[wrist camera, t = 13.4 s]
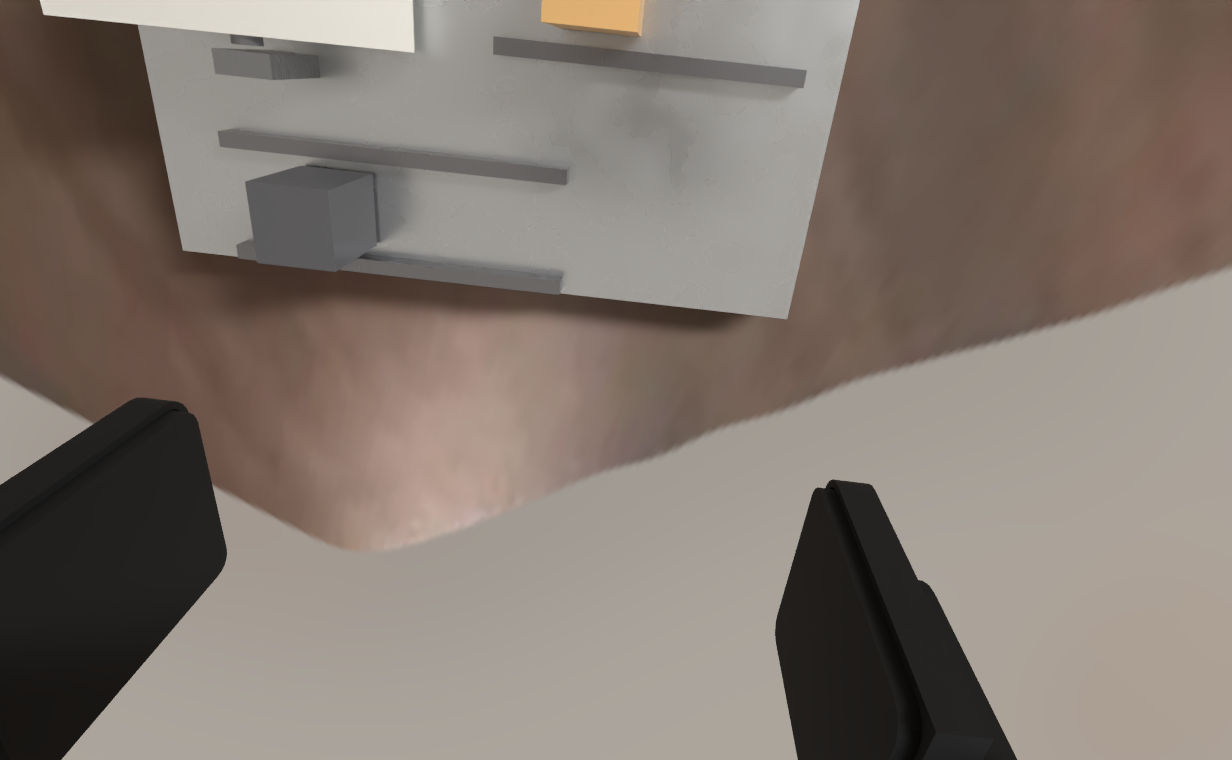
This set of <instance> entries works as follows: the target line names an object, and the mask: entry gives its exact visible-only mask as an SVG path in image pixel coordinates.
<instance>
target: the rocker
mask: <svg viewBox="0 0 1232 760" xmlns="http://www.w3.org/2000/svg"><path fill="white" fill-rule="evenodd" d="M40 3H41V7H42V10H43V14H44V15H51V16H61V17H70V18H80V19H90V20H100V21H110V22H119V23H129V24H139V25H149V26H158V27H168V28H178V29H188V30H198V31H207V32H217V33H227V34H230V40H231V43H232V44H239V45H250V46H264V42H263V37H266V38H276V39H286V40H295V41H305V42H315V43H325V44H335V45H344V46H354V47H364V48H374V49H384V50H393V51H403V52H413V53H414V52H415V41H414V13H413V0H40Z"/></svg>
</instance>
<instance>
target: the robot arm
mask: <svg viewBox="0 0 1232 760" xmlns="http://www.w3.org/2000/svg"><path fill="white" fill-rule="evenodd" d="M226 556H227V549H226V544H225V540H224V535H223V531H222V526H221V522H220V518H219V514H218V509H217V504H216V500H215V496H214V491H213V487H212V482H211V478H210V474H209V469H208V465H207V460H206V456H205V452H204V447H203V443H202V438H201V434H200V430H199V425H198V422H197V419H196V417H195V416H194V415H193V414H191V413H188V410H187V408H186V407H185V406H184V405H183V404H181V403H179V402H175V401H167V400H158V399H150V398H135V399H133V400H130V401H129V402H127V403H125V404H124V405H122V406H121V407H119V408H118V409H116V410H115V411H113V412H112V413H110V414H109V415H107V416H105V417H104V418H102V419H101V420H99V421H98V422H96V423H95V424H93V425H92V426H90V427H89V428H87V429H86V430H84V431H82V432H81V433H80V434H78V435H76V436H75V437H73V438H72V439H70V440H69V441H67V442H66V443H64V444H62V445H61V446H60V447H58V448H56V449H55V450H53V451H52V452H50V453H49V454H47V455H46V456H44V457H43V458H41V459H39V460H38V461H36V462H35V463H33V464H32V465H30V466H29V467H27V468H26V469H24V470H23V471H21V472H19V473H18V474H16V475H15V476H13V477H12V478H10V479H9V480H7V481H6V482H4V483H3V484H1V485H0V760H61V759H62V758H63V757H64V756H65V755H66V753H67V752H68V751H69V750H70V749H71V747H72V746H73V745H74V744H75V743H76V742H77V740H78V739H79V738H80V737H81V736H82V735H83V733H84V732H85V731H86V730H87V729H88V728H89V726H90V725H91V724H92V723H93V722H94V721H95V719H96V718H97V717H98V716H99V715H100V713H101V712H102V711H103V710H104V709H105V708H106V707H107V705H108V704H109V703H110V702H111V701H112V699H113V698H114V697H115V696H116V695H117V694H118V692H119V691H120V690H121V689H122V687H123V686H124V685H125V684H126V683H127V682H128V681H129V680H130V678H131V677H132V676H133V675H134V674H135V673H136V671H137V670H138V669H139V668H140V666H141V665H142V664H143V663H144V662H145V661H146V660H147V658H148V657H149V656H150V655H151V654H152V653H153V651H154V650H155V649H156V648H157V647H158V646H159V644H160V643H161V642H162V641H163V640H164V639H165V637H166V636H167V635H168V634H169V633H170V632H171V630H172V629H173V628H174V627H175V626H176V624H177V623H178V622H179V621H180V620H181V619H182V617H183V616H184V615H185V614H186V612H187V611H188V610H189V609H190V608H191V607H192V606H193V605H194V603H195V602H196V601H197V600H198V599H199V597H200V596H201V595H202V594H203V593H204V592H205V591H206V589H207V588H208V587H209V586H210V584H211V583H212V582H213V581H214V580H215V579H216V578H217V576H218V575H219V574H220V572H221V571H222V569H223V567H224V565H225V561H226ZM775 636H776V645H777V651H778V656H779V661H780V666H781V671H782V677H783V683H784V688H785V693H786V699H787V704H788V709H789V715H790V719H791V725H792V731H793V736H794V741H795V747H796V752H797V757H798V760H1017V758H1016V756H1015V754H1014V752H1013V750H1012V748H1011V746H1010V744H1009V742H1008V740H1007V738H1006V736H1005V734H1004V732H1003V730H1002V728H1001V726H1000V724H999V722H998V720H997V718H996V716H995V714H994V712H993V710H992V708H991V706H990V704H989V702H988V700H987V698H986V696H985V694H984V692H983V690H982V688H981V686H980V684H979V682H978V680H977V678H976V676H975V674H974V672H973V670H972V668H971V666H970V664H969V662H968V660H967V658H966V656H965V654H964V652H963V650H962V648H961V646H960V644H959V642H958V640H957V638H956V636H955V634H954V632H953V630H952V628H951V626H950V624H949V622H948V620H947V617H946V616H945V614H944V611H943V610H942V607H941V605H940V604H939V602H938V599H937V597H936V596H935V594H934V592H933V591H932V589H931V588H930V586H929V585H928V584H926V583H925V582H923V581H920V580H918V579H917V577H916V575H915V573H914V571H913V569H912V567H911V564H910V562H909V560H908V558H907V556H906V554H905V552H904V550H903V548H902V546H901V544H900V541H899V539H898V537H897V535H896V533H895V531H894V529H893V527H892V525H891V523H890V521H889V518H888V516H887V514H886V512H885V510H884V508H883V506H882V504H881V502H880V500H879V498H878V495H877V493H876V491H875V489H874V488H873V486H872V485H870V484H865V483H857V482H848V481H840V480H831V481H829V483H828V484H827V486H826V488H824V489H823V488H816V489H815V490H814V492H813V494H812V497H811V501H810V504H809V508H808V512H807V515H806V518H805V521H804V525H803V529H802V532H801V535H800V539H799V543H798V546H797V549H796V553H795V556H794V560H793V563H792V567H791V570H790V574H789V577H788V580H787V584H786V587H785V591H784V594H783V598H782V602H781V605H780V608H779V612H778V615H777V620H776V629H775Z"/></svg>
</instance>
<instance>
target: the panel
mask: <svg viewBox="0 0 1232 760" xmlns="http://www.w3.org/2000/svg"><path fill="white" fill-rule="evenodd" d="M859 2H860V0H645V5H644V15H643V25H642V34H641V37H635V36H625V35H616V34H607V33H598V32H588V31H579V30H570V29H561V28H558V27H555V26H552V25H549V24H546V23H543V22H541V8H542V0H413V13H414V41H415V52H414V53H413V52H403V51H393V50H384V49H374V48H364V47H354V46H344V45H335V44H325V43H315V42H305V41H295V40H286V39H276V38H266V37H263V42H264V46H250V45H239V44H232V43H231V40H230V34H227V33H217V32H207V31H198V30H188V29H178V28H168V27H158V26H149V25H139V24H138V28H139V33H140V38H141V43H142V48H143V53H144V58H145V63H146V68H147V73H148V78H149V83H150V88H151V93H152V98H153V103H154V108H155V113H156V118H157V123H158V128H159V133H160V138H161V143H162V148H163V153H164V158H165V163H166V168H167V173H168V178H169V183H170V188H171V193H172V198H173V203H174V208H175V213H176V218H177V223H178V228H179V233H180V238H181V243H182V248H183V251H191V252H200V253H209V254H218V255H227V256H236V257H238V259H247V260H255V261H257V259H256V252H255V245H254V239H253V232H252V225H251V219H250V212H249V205H248V199H247V192H246V186H245V181H249V180H252V179H256V178H259V177H263V176H266V175H270V174H273V173H277V172H280V171H284V170H287V169H291V168H294V167H298V166H308V167H317V168H326V169H335V170H344V171H353V172H362V173H371V174H372V176H373V191H374V206H375V221H376V236H377V246H375V247H374V248H372V249H371V250H369V251H367V252H366V253H364V254H363V255H361V256H360V257H358V258H357V259H355V260H353V261H352V262H350V263H349V264H347V265H346V266H344V267H343V268H341V269H340V270H344V271H352V272H361V273H370V274H379V275H388V276H396V277H405V278H414V279H423V280H432V281H440V282H449V283H458V284H467V285H476V286H484V287H493V288H502V289H511V290H520V291H529V292H537V293H546V294H555V295H560V293H562V294H570V295H579V296H588V297H597V298H606V299H614V300H623V301H632V302H641V303H650V304H658V305H667V306H676V307H685V308H694V309H703V310H711V311H720V312H729V313H738V314H747V315H755V316H764V317H773V318H782V319H787V317H788V313H789V308H790V304H791V300H792V295H793V291H794V287H795V282H796V278H797V273H798V269H799V265H800V260H801V256H802V251H803V247H804V243H805V238H806V234H807V230H808V225H809V221H810V216H811V212H812V208H813V203H814V199H815V194H816V190H817V186H818V181H819V177H820V173H821V168H822V164H823V159H824V155H825V151H826V146H827V142H828V137H829V133H830V129H831V124H832V120H833V116H834V111H835V107H836V102H837V98H838V94H839V89H840V85H841V80H842V76H843V72H844V67H845V63H846V59H847V54H848V50H849V45H850V41H851V37H852V32H853V28H854V23H855V19H856V15H857V10H858V6H859Z"/></svg>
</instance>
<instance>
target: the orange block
mask: <svg viewBox="0 0 1232 760" xmlns="http://www.w3.org/2000/svg"><path fill="white" fill-rule="evenodd" d="M644 5H645V0H542V8H541V22H543V23H546V24H549V25H552V26H555V27H558V28H561V29H570V30H579V31H588V32H598V33H607V34H616V35H625V36H635V37H641V34H642V25H643V15H644Z"/></svg>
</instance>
